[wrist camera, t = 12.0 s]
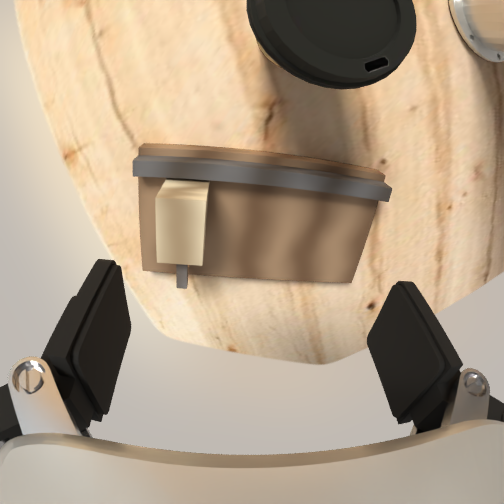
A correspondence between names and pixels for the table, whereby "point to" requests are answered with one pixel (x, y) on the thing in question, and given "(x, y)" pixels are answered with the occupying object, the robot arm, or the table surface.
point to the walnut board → (266, 211)
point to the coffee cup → (334, 38)
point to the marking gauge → (181, 224)
